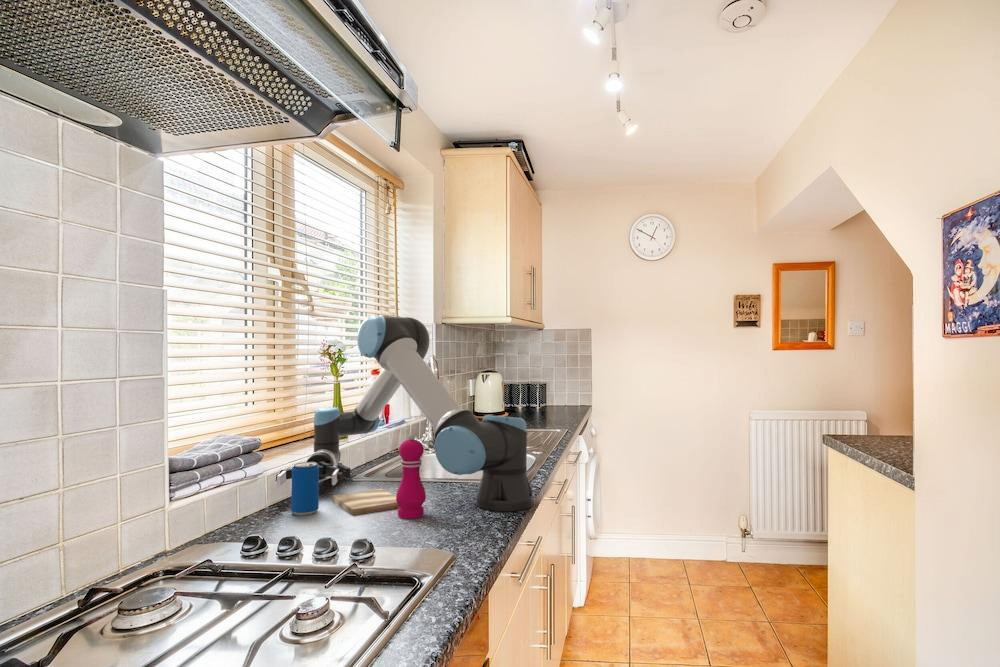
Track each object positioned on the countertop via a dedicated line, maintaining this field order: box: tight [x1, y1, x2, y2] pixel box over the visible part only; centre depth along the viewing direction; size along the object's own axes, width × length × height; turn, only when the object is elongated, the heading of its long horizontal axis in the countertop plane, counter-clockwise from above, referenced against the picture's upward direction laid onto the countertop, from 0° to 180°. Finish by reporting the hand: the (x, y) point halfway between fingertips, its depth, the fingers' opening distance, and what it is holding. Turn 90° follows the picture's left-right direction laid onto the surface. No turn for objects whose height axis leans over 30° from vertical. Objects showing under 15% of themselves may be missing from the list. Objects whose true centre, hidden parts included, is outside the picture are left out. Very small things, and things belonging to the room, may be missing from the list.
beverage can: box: [290, 461, 320, 516], centre depth 139 cm, size 6×6×12 cm
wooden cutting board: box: [332, 488, 400, 516], centre depth 147 cm, size 16×14×2 cm
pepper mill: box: [395, 433, 427, 520], centre depth 137 cm, size 7×7×20 cm
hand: (306, 480), depth 143 cm, fingers open, 13 cm apart
